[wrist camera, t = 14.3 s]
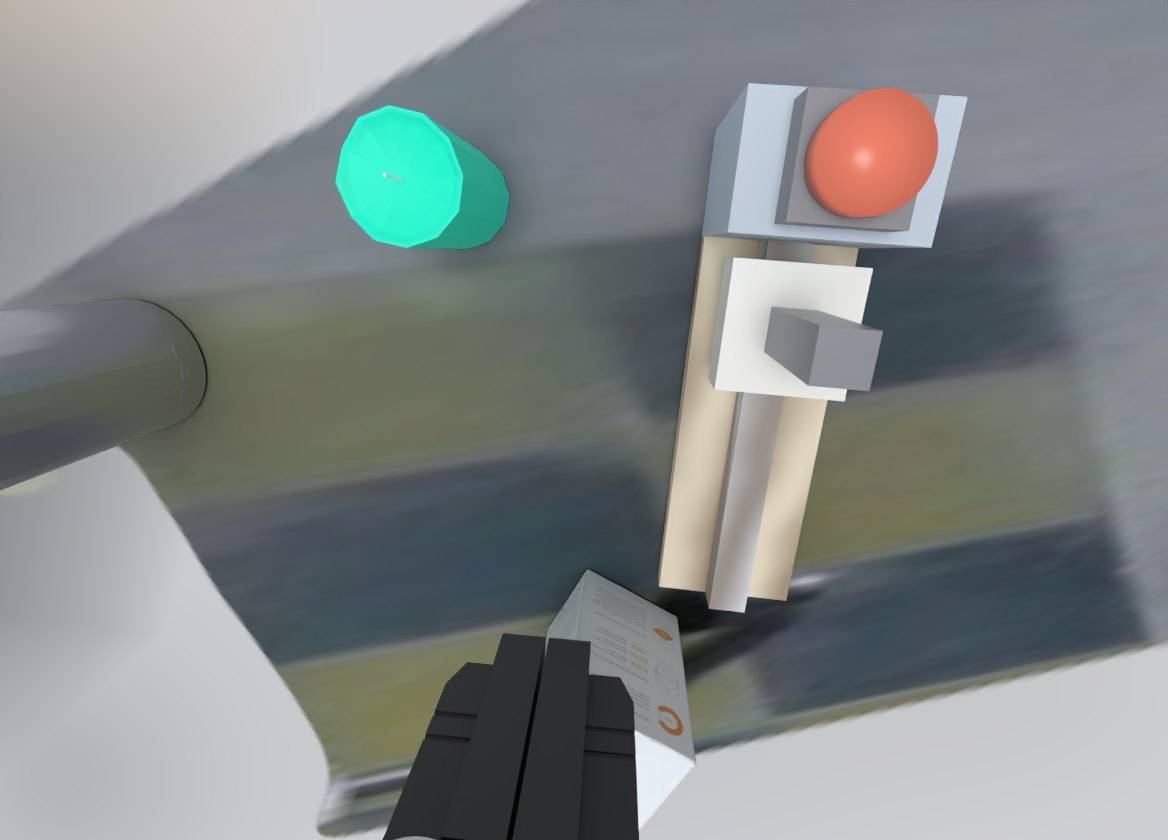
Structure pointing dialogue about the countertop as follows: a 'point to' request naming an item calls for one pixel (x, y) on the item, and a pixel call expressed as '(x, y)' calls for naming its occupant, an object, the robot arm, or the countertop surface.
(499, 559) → the countertop surface
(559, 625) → the small box
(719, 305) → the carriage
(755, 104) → the push button housing
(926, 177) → the button
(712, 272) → the rail
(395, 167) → the candle
